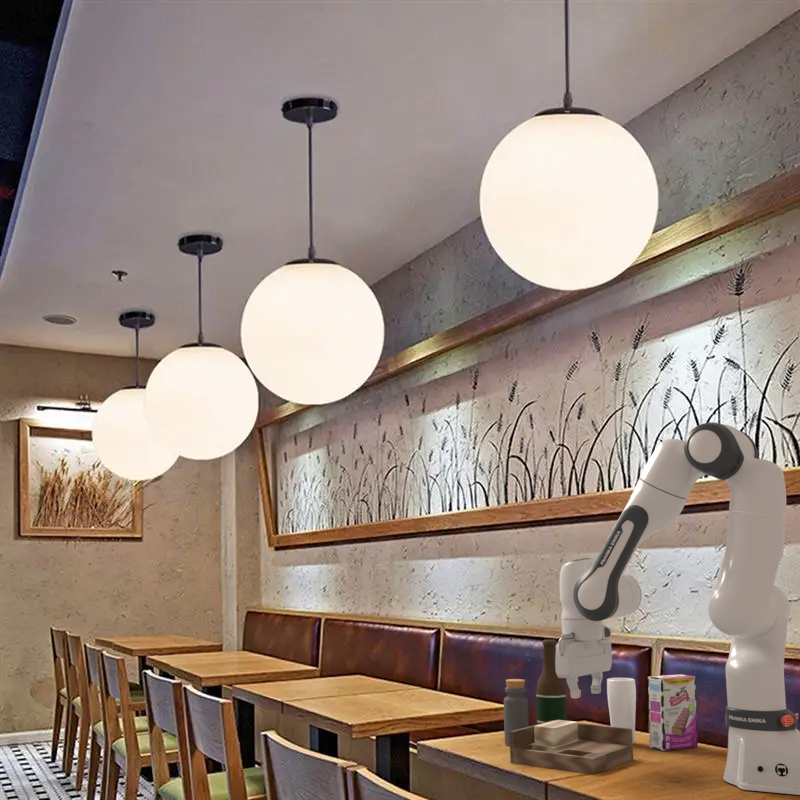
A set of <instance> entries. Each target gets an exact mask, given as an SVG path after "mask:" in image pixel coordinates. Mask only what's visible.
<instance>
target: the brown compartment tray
mask: <svg viewBox="0 0 800 800" xmlns="http://www.w3.org/2000/svg"><path fill="white" fill-rule="evenodd" d="M552 721H555V720H552ZM552 721H548V722H552ZM548 722H544V723H548ZM544 723H540V724H544ZM540 724H537V723H536V724H532V725H529V727H525V728H521V729H517V730H513V731H510V746H509V752H510V753H509V758H510V761H509V762H510V763H512V764H519V765H527V766H532V767H533V766H535V767H542V768H547V769H554V770H562V771H568V772H576V773H577V772H578V773H582V774H584V773H585V774H591V775H595V774H597V773H600V772H603V771H605V770H609V769H611V768H613V767H616V766H619V765H622V764H624V763H627V762H630V761H633V760H634V744H633V739H632V729H630V728H621V727H611V725H600V724H590V723H584V722H581V723H580V722H578V740H577V741H574V742H570V743H567V744H564V745H560V746H557V747H548V746H540V745H535V738H534V726H537V725H540Z"/></svg>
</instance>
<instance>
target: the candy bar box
mask: <svg viewBox="0 0 800 800" xmlns="http://www.w3.org/2000/svg"><path fill="white" fill-rule="evenodd" d="M647 683H648V684H647V687H648V688H647V689H648V690H647V691H648V693H647V694H648V721H649V722H648V723H649V725H648V726H649V747H650V749H653V750H655V751H656V750H657V751H660V752H667V751H669V752H670V751H678V750H685V749H691V748H693V749H694V748H698V746H699V745H698V744H699V743H698V742H699V740H698V715H697V712H698V711H697V690H696V689H697V688H696V687H697V686H696V675H689V674H668V675H667V674H666V675H652V676H647Z"/></svg>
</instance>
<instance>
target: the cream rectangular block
mask: <svg viewBox="0 0 800 800" xmlns="http://www.w3.org/2000/svg"><path fill="white" fill-rule="evenodd" d="M578 723H579V722H578V721H575V720H574V721H573V720H567V721H565V720H556V721H552V722H548V723H544V724H540V725H537V726H534V738H535V745H540V746H548V747H557V746H560V745H564V744H567V743H570V742H574V741H577V740H578Z"/></svg>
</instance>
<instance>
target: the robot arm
mask: <svg viewBox="0 0 800 800" xmlns="http://www.w3.org/2000/svg"><path fill="white" fill-rule="evenodd" d="M758 456H759V455H758V447H757V446H756V443H755V442H754V440H753V439H752V438H751V437H750V436H749V435H748V434H747V433H745V432H744V431H742V430H738V428H736V427H734V426H732V425H728V424H724V423H718V422H713V421H711V422H704V423H701V424H698V425H697V426H695V427H693V428H692V429H691V430H690V431H689V432H688V433H687V435H686V437H685V439H684V440H682V439H678V438H667V439H664V440H663V441H661V442H660V443H659V444H658V446H657V447H656V448H655V450H653V452H652V454H651V456H650V457H649V459H648V460H647V462H646V464H645V465H644V467H643V469H642V471H641V473H640V476H639V478H638V480H637V482H636V485H635V487H634V488H633V491H632V493H631V495H630V497H629V499H628V502H627V503H626V505H625V507H624V509H623V511H622V512H621V514H620V516H619V517H618V519H617V521H616V522H615V524H614V525H613V527H612V530H611V531H610V533H609V534H608V536H607V538H606V540H605V542H604V544H603V546H602V548H601V550H600V551H599V553H598V554H597V557H596V559H593V558H590V557H585V558H584V557H583V558H577V559H573V560H570V561H566V562H565V563H563V565H562V566H561V569H560V572H559V600H560V603H561V609H562V610H561V611H562V612H561V616H560V617H561V619H560V621H561V636H560V639H559V640H558V642H557V645H556V674H557V676H558V678H562V679H566V684H567V687H568V688H569V690H570V691H569V692H570V694H569V695H570V698H571V699H580V698H581V697H582V691H581V689H579V685H578V683H579V677H582V676H589V675H591V677H592V680H591V681H592V683H591V685H590V693H591V694H593V695H594V694H596V695H597V694H601V691H602V688H601V687H602V686H601V685H602V681H603V678H604V676H603V673H604V672H608V671H611V668H612V666H613V665H612V664H613V655H612V654H613V653H612V643H611V638H612V636H613V635H612V629H611V628H610V627H608V626H607V625H605V624H604V623H603V622H602V621H604V620H608V619H612V618H618V617H623V616H627V615H628V616H629V614H632V613H633V612H635V611H636V610H637V609H638V608H639V607H640V604H641V600H642V590H641V587H640V584H639V582H638V581H637V580H636V579H635V577H633V576H632V575H630V574H626V573H625V571H626V569H627V568H628V566H629V564H630V562H631V561H632V558H633V556H634V554H635V552H636V551H637V549H638V548H639V546H640V545H641V544H642V543H644V541H646V539H648V538H649V537H651V536H652V535H654V534H656V533H658V532H661V531H662V530H665V529H666V528H669V527H670V526H672V525H673V524H674V523H675V522H676V520H677V518H678V517H679V516H680V514H681V512H683V510H684V507H685V505H686V503H687V501H688V499H689V496H690V494H691V492H692V489H693V487H694V485H695V484H696V482H697V481H698V480H699V479H700V478H701V477H704V476H709V477H713V478H715V479H718V480H720V481H725V482H726V484H727V486H728V489H729V508H728V519H727V530H726V531H727V532H726V544H725V551H724V554H723V559H722V564H721V566H720V570H719V574H718V577H717V582H716V586H715V589H714V592H713V593H712V595H711V597H710V599H709V602H708V607H707V608H708V610H707V612H708V616H709V620H710V621H711V623H712V625H713V626H714V627H715V628H716V629H717V630H718V631H720V632H722V633H724V634H725V635H727V636H730V637H731V641H730V648H729V652H728V654H729V655H728V658H727V660H726V664H725V682H726V685H725V686H726V698H727V705H726V706H725V715H724V717H725V728H726V734H727V736H728V737H727V756H726V763H725V768H724V773H723V777H722V779H723V781H725V782H727V783H729V784H731V785H734V786H736V787H738V788H739V789H741V790H744V791H754V792H755V791H756V792H765V793H766V792H767V793H777V794H787V795H797V796H800V730H799V729H797V728H798V720H799V713H798V712H796V713H794V712H793V711H792V710H790V709H789V708H787V703H786V688H785V687H786V685H785V673H784V672H785V656H786V655H785V654H786V653H785V652H786V644H787V634H788V620H789V618H790V614H791V603H790V600H789V598H788V596H787V595H786V593H785V592H784V591H783V590H782V589H780V588H779V587H777V586H776V585H775V581H776V578H777V577H776V575H777V574H778V572H777V571H778V570H779V566H780V562H781V561H782V559H783V557H784V552H785V551H784V550H785V549H784V548H785V534H786V522H787V521H786V519H787V491H786V489H787V488H786V480H785V474H784V471H783V470H782V468H781V467H780V465H778V464H777V463H775V462H772V461H770V460H768V459H767V460H766V459H764V458H763V459H762V458H758Z"/></svg>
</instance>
